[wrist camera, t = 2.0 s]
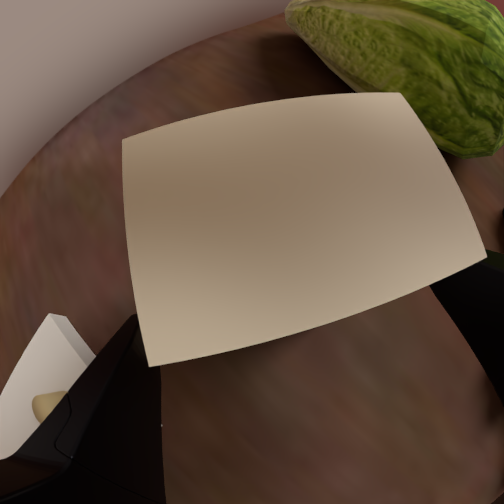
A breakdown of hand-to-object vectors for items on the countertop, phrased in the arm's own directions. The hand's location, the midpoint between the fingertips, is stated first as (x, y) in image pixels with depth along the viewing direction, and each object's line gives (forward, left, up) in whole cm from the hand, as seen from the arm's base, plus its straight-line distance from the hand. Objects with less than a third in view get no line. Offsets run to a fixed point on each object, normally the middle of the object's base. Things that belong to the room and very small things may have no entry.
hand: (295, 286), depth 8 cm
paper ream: (+1, 0, -9) cm, 9 cm away
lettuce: (+7, -23, -9) cm, 26 cm away
